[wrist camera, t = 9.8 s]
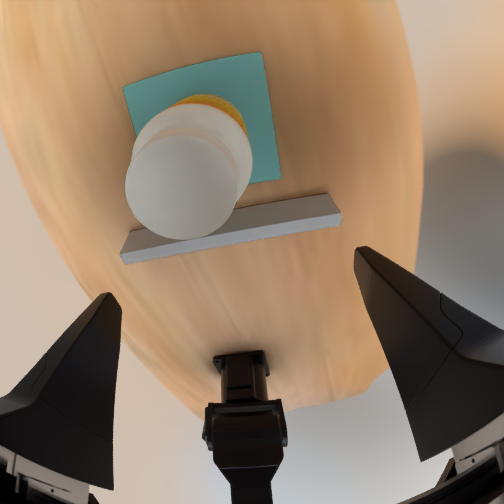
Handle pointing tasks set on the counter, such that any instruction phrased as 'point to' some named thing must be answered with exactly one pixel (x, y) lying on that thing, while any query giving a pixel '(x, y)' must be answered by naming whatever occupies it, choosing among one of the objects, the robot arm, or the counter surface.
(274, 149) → the teal mat
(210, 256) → the counter surface
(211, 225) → the supplement bottle
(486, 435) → the robot arm
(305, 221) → the low wall
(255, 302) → the counter surface
